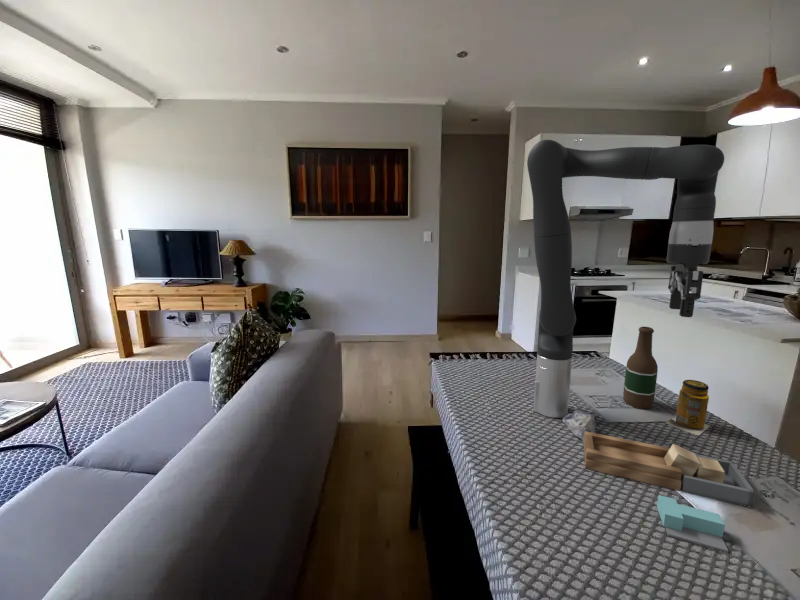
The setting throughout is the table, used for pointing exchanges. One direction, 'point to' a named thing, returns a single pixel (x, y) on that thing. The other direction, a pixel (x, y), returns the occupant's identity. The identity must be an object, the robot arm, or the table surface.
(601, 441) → the slot board
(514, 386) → the table surface
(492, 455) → the table surface
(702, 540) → the mat
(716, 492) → the tray
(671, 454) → the tan wooden cube
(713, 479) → the tan block
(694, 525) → the teal t-shaped block
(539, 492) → the table surface
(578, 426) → the mineral specimen
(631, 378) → the beer bottle
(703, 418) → the condiment
